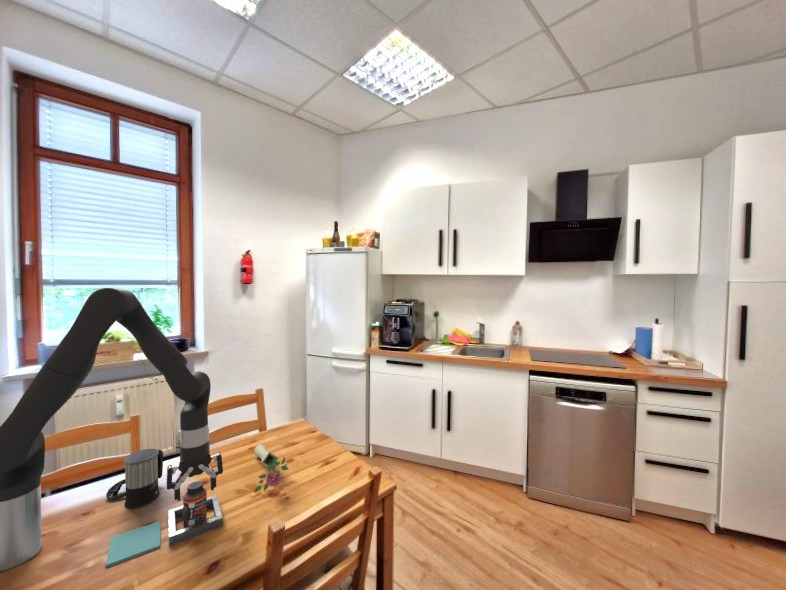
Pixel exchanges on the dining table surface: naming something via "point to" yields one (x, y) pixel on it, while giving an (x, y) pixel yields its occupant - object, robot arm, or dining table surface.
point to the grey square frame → (197, 528)
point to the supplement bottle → (194, 504)
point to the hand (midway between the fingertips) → (196, 494)
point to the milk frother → (140, 478)
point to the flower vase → (269, 467)
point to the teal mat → (133, 543)
